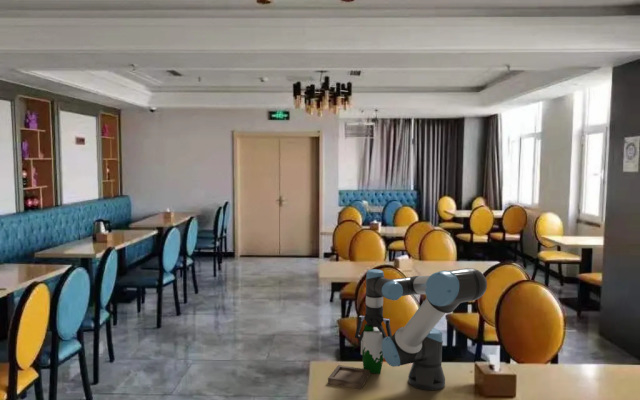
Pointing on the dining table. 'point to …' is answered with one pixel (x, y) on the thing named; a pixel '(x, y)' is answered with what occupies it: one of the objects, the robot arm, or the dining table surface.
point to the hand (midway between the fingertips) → (373, 355)
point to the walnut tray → (348, 377)
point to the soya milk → (372, 349)
